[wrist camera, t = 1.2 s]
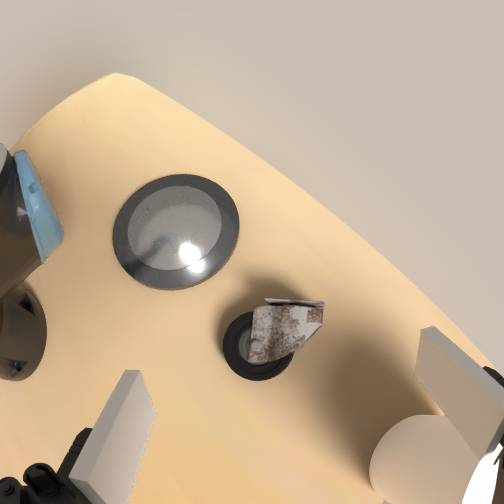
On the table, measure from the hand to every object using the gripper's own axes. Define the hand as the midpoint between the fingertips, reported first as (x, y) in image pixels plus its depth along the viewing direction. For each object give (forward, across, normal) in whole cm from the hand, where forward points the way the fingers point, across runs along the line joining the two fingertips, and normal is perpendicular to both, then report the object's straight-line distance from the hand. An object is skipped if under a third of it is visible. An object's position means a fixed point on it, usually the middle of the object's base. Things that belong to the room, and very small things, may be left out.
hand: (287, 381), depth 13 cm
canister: (+11, +17, -28) cm, 35 cm away
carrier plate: (+33, -12, +3) cm, 35 cm away
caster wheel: (+23, 0, -11) cm, 26 cm away
